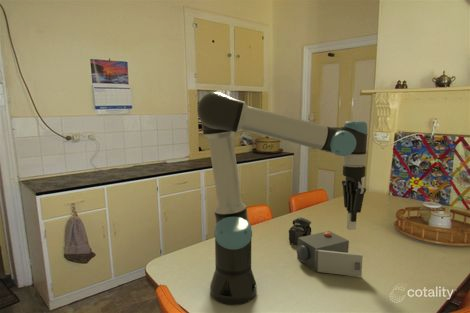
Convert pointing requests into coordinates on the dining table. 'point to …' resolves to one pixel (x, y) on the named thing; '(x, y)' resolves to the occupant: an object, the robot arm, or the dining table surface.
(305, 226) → the camera
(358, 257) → the door
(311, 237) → the case
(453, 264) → the dining table surface
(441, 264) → the dining table surface
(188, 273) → the dining table surface
